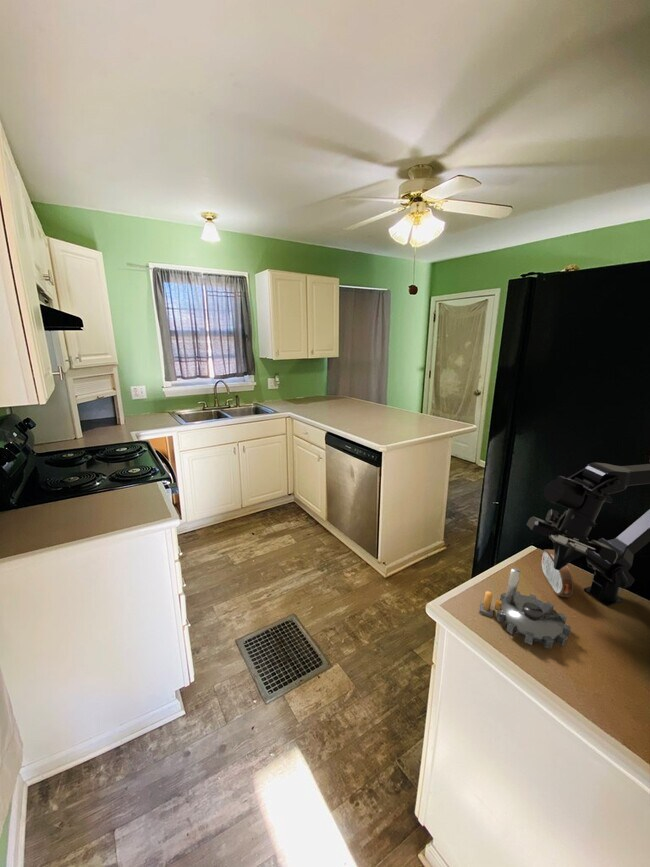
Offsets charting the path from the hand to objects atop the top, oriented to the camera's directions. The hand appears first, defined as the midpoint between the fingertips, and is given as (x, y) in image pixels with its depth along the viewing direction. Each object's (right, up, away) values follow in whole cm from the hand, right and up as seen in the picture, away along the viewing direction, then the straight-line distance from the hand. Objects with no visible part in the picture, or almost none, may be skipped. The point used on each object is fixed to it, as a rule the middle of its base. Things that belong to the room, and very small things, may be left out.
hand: (555, 569), depth 90 cm
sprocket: (-9, -10, -5) cm, 15 cm away
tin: (+6, -8, +10) cm, 14 cm away
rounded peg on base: (-18, -10, 0) cm, 21 cm away
